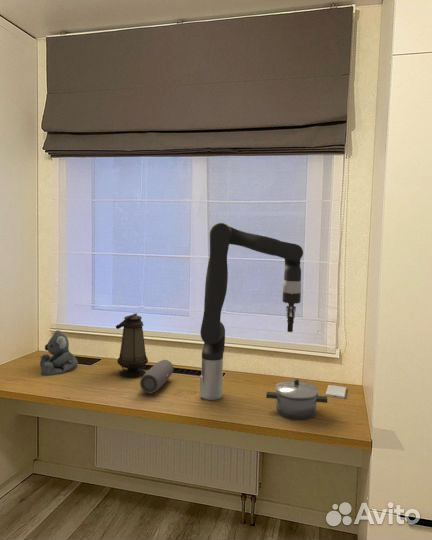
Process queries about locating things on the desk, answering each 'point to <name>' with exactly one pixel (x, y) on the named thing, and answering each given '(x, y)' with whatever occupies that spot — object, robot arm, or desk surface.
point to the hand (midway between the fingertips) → (290, 331)
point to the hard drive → (336, 391)
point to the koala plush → (57, 356)
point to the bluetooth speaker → (156, 376)
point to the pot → (296, 406)
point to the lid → (296, 389)
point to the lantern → (132, 347)
